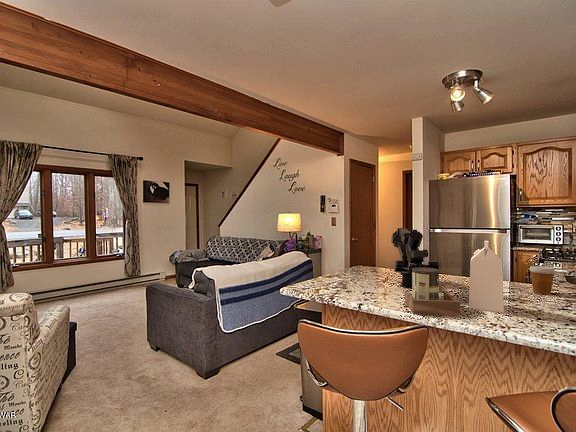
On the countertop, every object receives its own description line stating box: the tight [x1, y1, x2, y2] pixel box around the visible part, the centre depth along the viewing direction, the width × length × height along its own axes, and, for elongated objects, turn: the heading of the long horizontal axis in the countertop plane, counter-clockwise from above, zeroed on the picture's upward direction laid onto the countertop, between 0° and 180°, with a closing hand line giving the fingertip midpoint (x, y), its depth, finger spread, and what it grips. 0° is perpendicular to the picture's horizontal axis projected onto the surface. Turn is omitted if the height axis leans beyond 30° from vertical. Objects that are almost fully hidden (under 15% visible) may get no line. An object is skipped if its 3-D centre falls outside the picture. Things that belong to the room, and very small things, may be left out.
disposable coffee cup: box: [528, 265, 557, 296], centre depth 148 cm, size 10×10×12 cm
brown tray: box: [404, 290, 461, 317], centre depth 125 cm, size 14×16×5 cm
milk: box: [468, 240, 505, 314], centre depth 128 cm, size 12×12×26 cm
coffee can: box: [411, 267, 440, 300], centre depth 132 cm, size 10×10×14 cm
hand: (419, 282), depth 141 cm, fingers closed
